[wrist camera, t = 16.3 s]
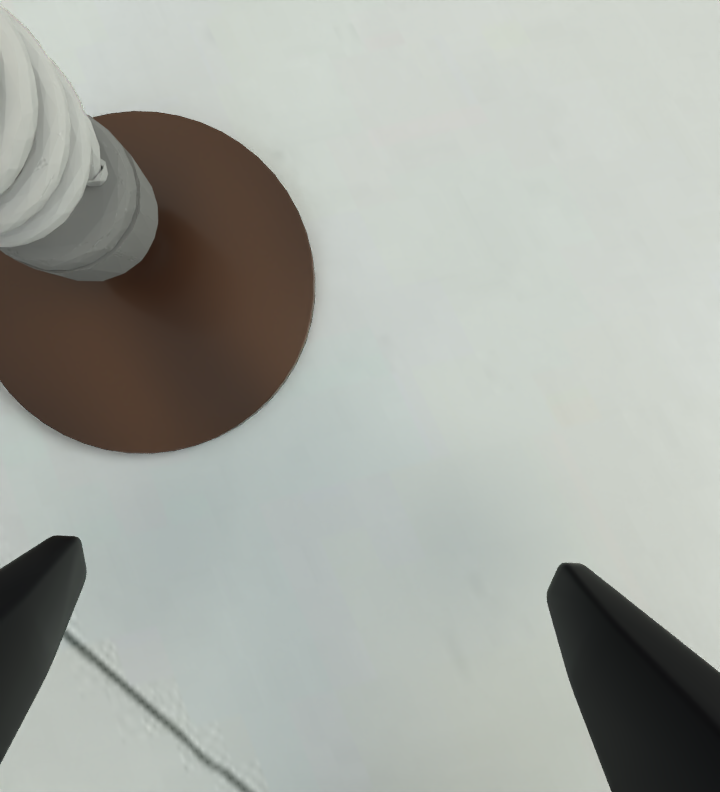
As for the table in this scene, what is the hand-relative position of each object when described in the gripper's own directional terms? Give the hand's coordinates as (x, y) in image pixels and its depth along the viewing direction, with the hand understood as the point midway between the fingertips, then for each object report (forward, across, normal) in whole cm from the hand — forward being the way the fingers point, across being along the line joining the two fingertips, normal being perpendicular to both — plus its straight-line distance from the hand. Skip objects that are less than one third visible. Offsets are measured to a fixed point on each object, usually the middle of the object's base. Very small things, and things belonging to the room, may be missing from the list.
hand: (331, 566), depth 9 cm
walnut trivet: (+15, +8, -1) cm, 17 cm away
